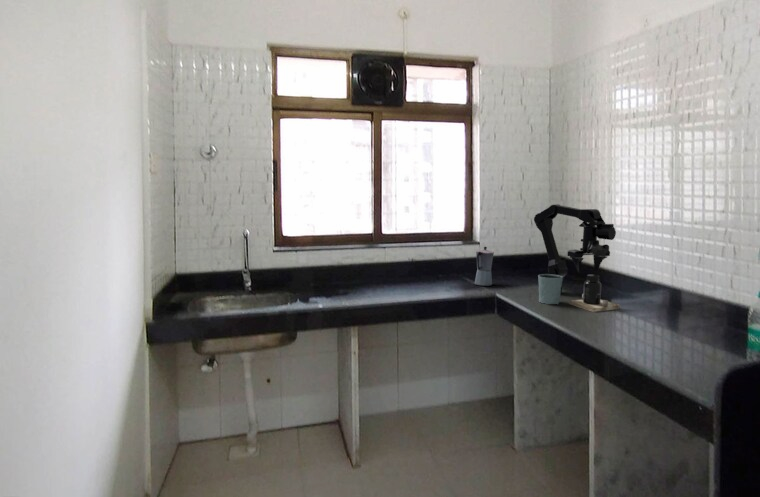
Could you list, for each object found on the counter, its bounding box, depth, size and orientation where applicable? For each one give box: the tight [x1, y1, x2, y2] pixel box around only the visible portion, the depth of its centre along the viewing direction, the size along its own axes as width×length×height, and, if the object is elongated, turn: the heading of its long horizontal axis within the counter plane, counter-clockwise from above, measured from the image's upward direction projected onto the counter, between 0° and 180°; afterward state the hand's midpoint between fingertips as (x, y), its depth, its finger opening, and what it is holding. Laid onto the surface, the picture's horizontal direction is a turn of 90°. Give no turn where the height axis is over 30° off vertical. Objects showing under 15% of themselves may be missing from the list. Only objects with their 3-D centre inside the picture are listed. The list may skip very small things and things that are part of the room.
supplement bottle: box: [582, 274, 602, 305], centre depth 209 cm, size 7×7×12 cm
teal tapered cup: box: [537, 273, 564, 305], centre depth 217 cm, size 10×10×12 cm
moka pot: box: [474, 246, 494, 287], centre depth 256 cm, size 10×15×20 cm, turn 148°
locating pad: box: [569, 293, 621, 313], centre depth 210 cm, size 14×14×4 cm
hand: (587, 271), depth 222 cm, fingers open, 9 cm apart
